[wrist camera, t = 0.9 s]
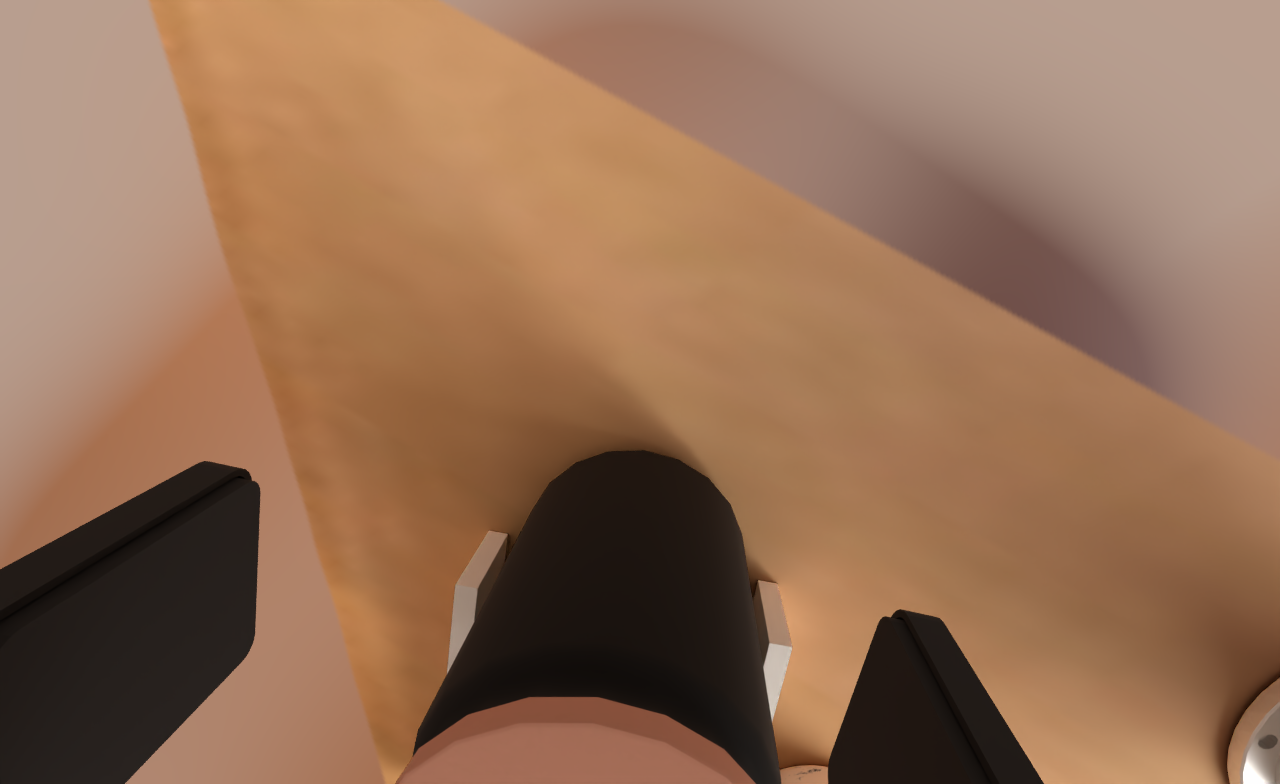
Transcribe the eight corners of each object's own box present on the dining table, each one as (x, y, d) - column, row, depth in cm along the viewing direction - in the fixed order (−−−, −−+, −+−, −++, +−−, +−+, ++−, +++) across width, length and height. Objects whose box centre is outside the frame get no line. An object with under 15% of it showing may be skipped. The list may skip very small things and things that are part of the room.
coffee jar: (491, 500, 33) (276, 821, 16) (674, 402, 31) (656, 648, 14) (601, 660, 35) (516, 1095, 18) (779, 577, 33) (876, 982, 16)
